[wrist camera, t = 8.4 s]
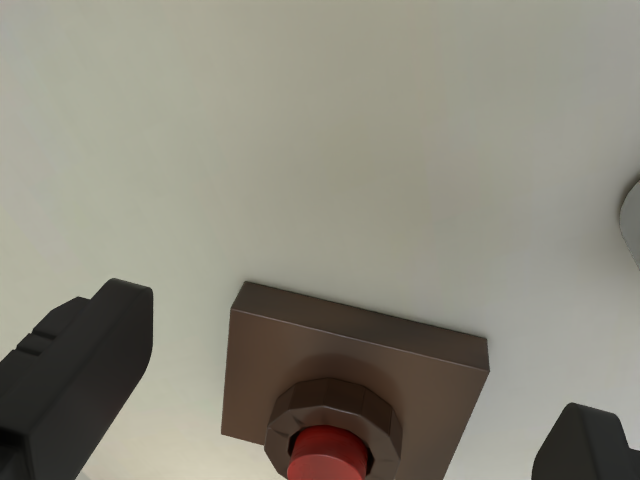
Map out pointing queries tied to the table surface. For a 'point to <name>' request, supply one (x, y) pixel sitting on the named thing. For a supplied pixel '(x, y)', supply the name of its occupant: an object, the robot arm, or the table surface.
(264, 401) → the block
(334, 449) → the button
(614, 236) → the table surface
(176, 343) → the table surface
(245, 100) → the table surface
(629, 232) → the beverage can
